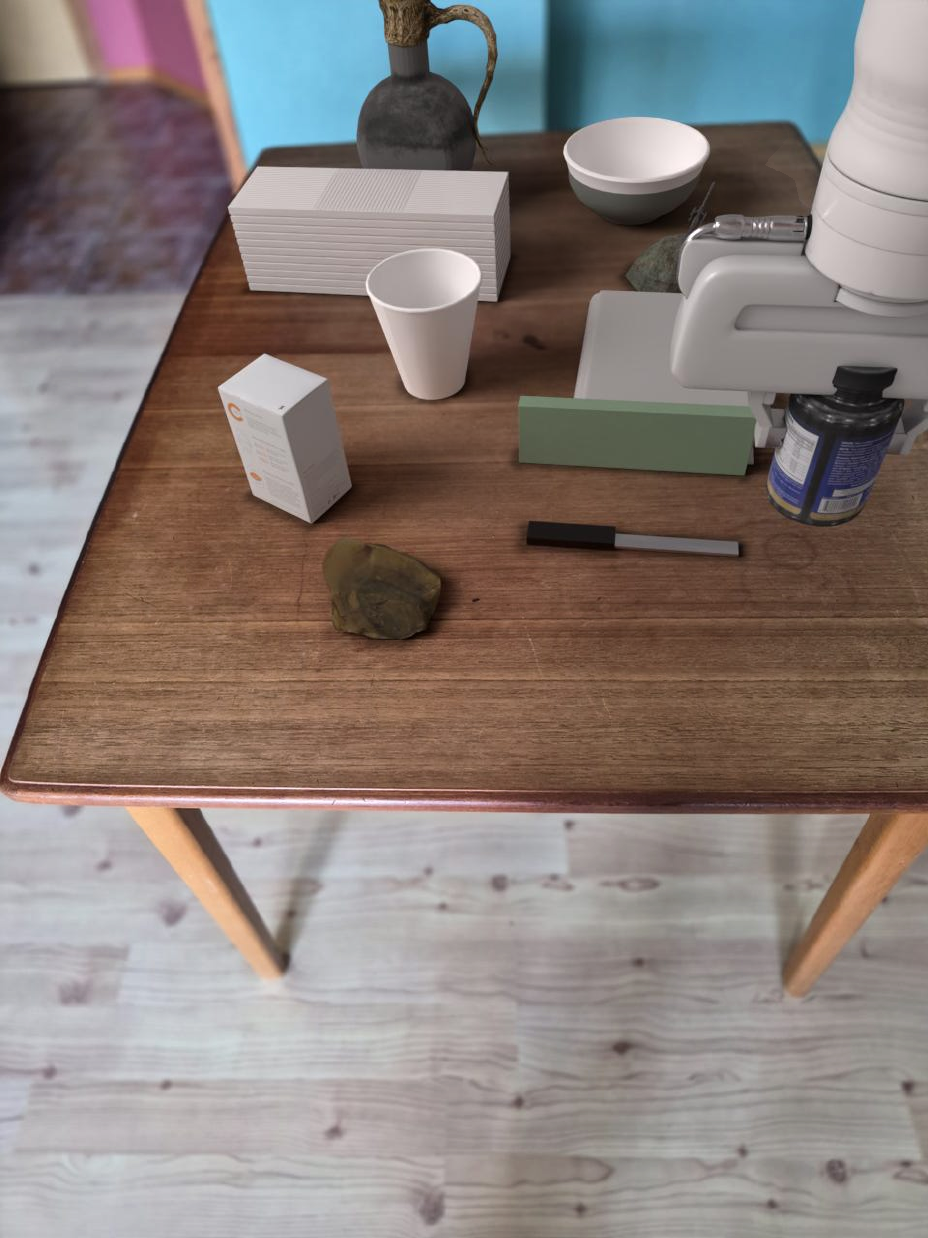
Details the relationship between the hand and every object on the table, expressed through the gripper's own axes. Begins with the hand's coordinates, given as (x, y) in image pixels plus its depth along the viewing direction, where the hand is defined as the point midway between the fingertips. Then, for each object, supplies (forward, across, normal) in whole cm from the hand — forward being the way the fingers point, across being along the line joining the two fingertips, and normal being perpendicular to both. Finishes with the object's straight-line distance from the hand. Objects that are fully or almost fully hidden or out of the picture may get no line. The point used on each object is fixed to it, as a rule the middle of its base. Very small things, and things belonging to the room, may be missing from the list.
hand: (829, 445), depth 53 cm
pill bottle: (+4, 0, 0) cm, 4 cm away
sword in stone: (+24, -7, +59) cm, 64 cm away
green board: (+24, -10, +25) cm, 36 cm away
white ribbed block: (+24, -43, +59) cm, 77 cm away
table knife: (+24, -10, +14) cm, 29 cm away
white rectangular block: (+24, -7, +38) cm, 45 cm away
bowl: (+24, -12, +77) cm, 81 cm away
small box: (+24, -42, +18) cm, 52 cm away
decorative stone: (+24, -32, +5) cm, 40 cm away
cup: (+24, -32, +37) cm, 55 cm away
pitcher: (+24, -39, +76) cm, 89 cm away
